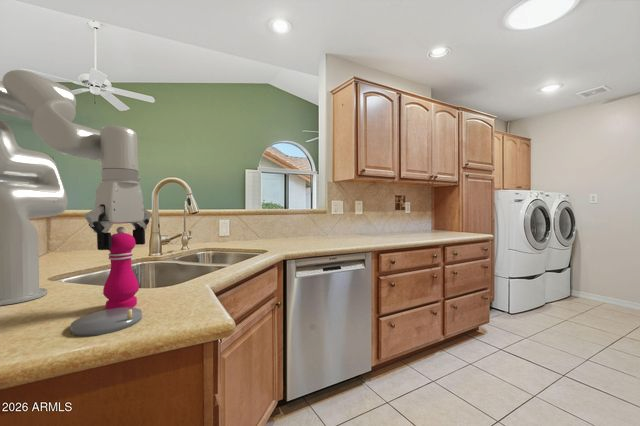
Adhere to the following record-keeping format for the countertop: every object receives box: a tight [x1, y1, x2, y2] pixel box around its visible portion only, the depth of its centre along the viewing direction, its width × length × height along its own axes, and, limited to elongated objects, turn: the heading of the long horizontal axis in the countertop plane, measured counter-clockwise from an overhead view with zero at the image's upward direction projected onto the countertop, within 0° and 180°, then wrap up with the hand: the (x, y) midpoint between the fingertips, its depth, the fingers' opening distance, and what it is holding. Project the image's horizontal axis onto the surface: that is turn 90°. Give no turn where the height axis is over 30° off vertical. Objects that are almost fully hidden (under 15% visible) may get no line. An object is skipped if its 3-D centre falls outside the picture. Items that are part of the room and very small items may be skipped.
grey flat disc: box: [70, 307, 143, 337], centre depth 59 cm, size 12×12×3 cm
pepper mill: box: [102, 226, 140, 310], centre depth 68 cm, size 7×7×20 cm
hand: (123, 246), depth 68 cm, fingers open, 9 cm apart
